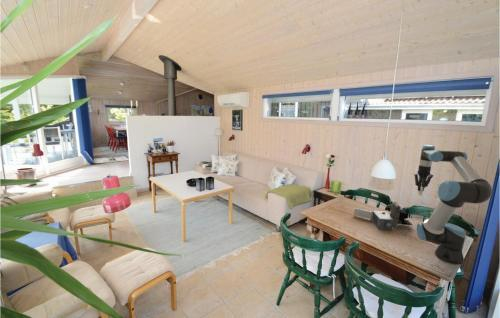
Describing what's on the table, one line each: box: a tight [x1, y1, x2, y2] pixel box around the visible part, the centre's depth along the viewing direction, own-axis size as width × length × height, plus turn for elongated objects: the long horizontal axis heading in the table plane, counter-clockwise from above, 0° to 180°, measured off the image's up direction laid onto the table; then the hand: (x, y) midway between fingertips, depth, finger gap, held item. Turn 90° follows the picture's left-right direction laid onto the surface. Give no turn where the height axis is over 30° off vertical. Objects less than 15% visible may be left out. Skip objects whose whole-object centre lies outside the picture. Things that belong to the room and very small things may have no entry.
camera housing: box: [371, 210, 393, 230], centre depth 206 cm, size 19×11×10 cm, turn 171°
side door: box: [353, 207, 373, 221], centre depth 219 cm, size 15×2×8 cm, turn 57°
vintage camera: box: [389, 201, 413, 228], centre depth 205 cm, size 10×16×20 cm, turn 78°
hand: (419, 194), depth 185 cm, fingers closed
